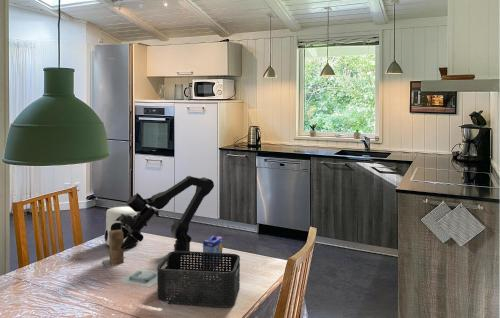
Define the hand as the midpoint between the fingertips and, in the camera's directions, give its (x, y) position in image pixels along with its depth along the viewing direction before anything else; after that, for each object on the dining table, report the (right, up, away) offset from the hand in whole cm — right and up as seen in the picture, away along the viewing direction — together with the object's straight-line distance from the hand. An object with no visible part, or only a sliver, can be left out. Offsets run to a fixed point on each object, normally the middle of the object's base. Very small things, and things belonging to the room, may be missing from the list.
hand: (118, 245), depth 181 cm
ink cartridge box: (+42, -9, +2) cm, 43 cm away
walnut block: (-1, -8, 0) cm, 8 cm away
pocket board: (+15, -10, -16) cm, 24 cm away
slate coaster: (-1, -8, 0) cm, 8 cm away
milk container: (-6, -5, +26) cm, 27 cm away
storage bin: (+39, -13, -27) cm, 50 cm away
